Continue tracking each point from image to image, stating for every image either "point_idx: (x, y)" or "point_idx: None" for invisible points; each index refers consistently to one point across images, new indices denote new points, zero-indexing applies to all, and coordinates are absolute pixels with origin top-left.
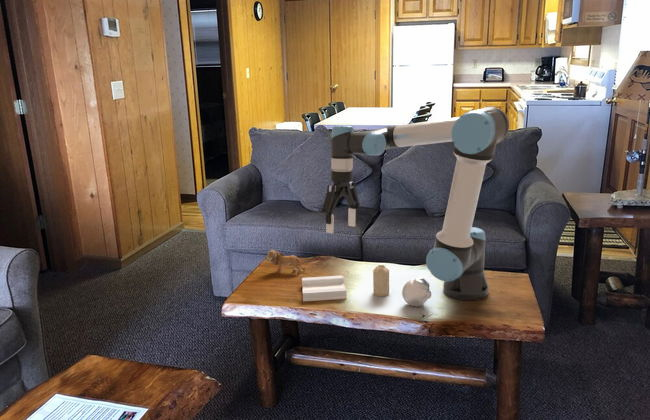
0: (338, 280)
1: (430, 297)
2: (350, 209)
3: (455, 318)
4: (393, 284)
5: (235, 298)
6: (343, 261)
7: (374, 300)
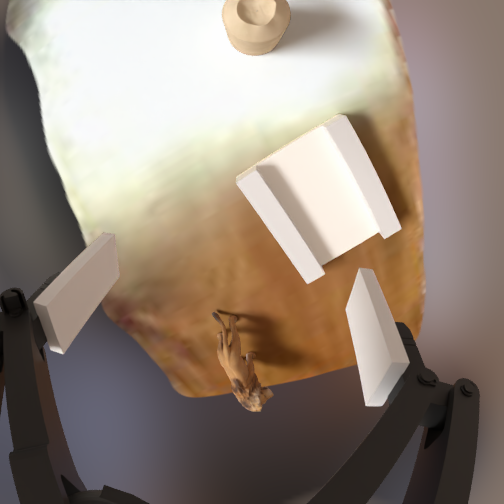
0: (265, 182)
1: None
2: (60, 335)
3: None
4: (174, 30)
5: None
6: None
7: (313, 33)
